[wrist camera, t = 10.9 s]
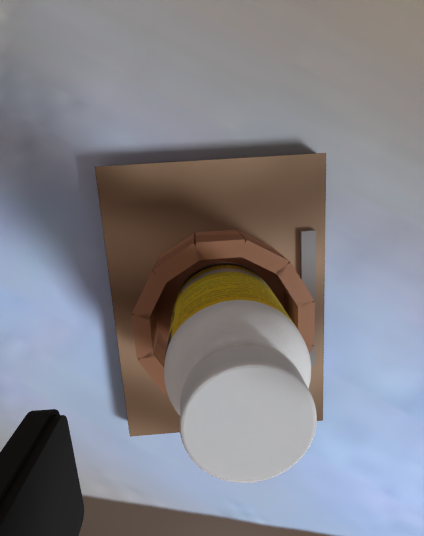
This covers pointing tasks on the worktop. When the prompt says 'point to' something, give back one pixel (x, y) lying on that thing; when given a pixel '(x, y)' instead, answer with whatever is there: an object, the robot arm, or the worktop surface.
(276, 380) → the supplement bottle
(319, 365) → the cup station
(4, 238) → the worktop surface
